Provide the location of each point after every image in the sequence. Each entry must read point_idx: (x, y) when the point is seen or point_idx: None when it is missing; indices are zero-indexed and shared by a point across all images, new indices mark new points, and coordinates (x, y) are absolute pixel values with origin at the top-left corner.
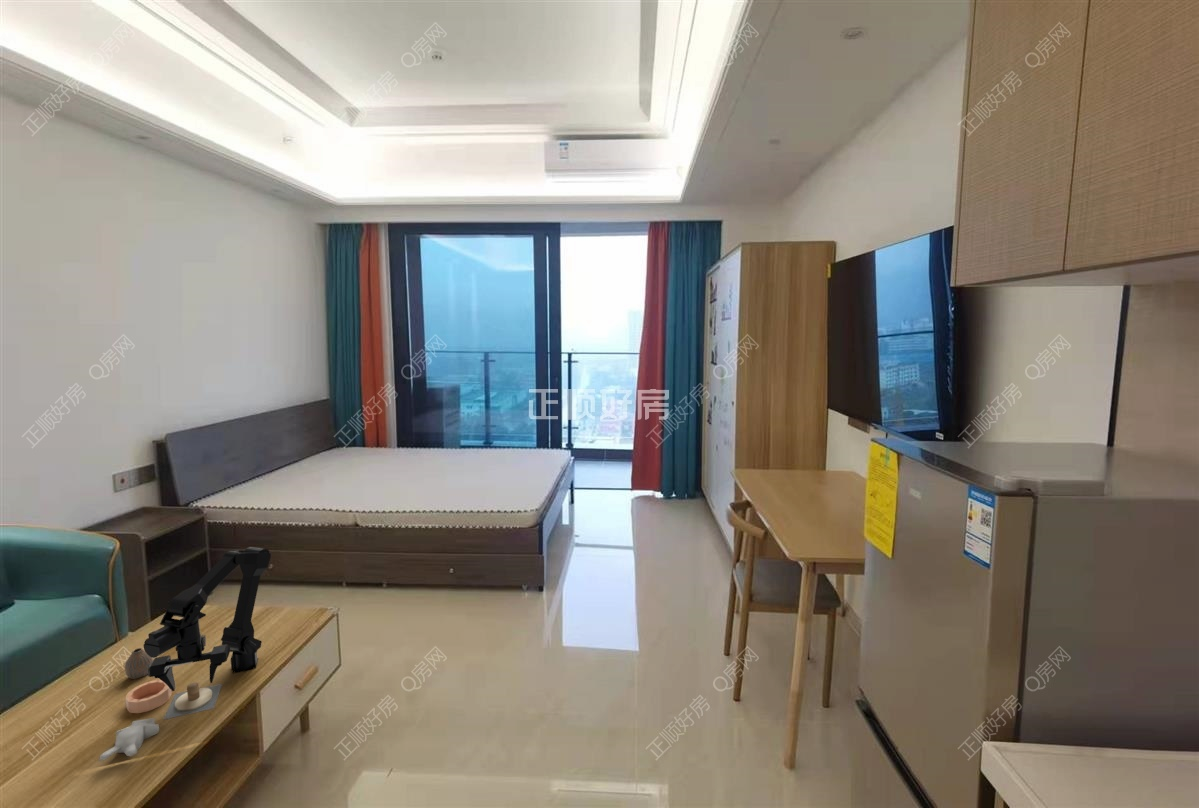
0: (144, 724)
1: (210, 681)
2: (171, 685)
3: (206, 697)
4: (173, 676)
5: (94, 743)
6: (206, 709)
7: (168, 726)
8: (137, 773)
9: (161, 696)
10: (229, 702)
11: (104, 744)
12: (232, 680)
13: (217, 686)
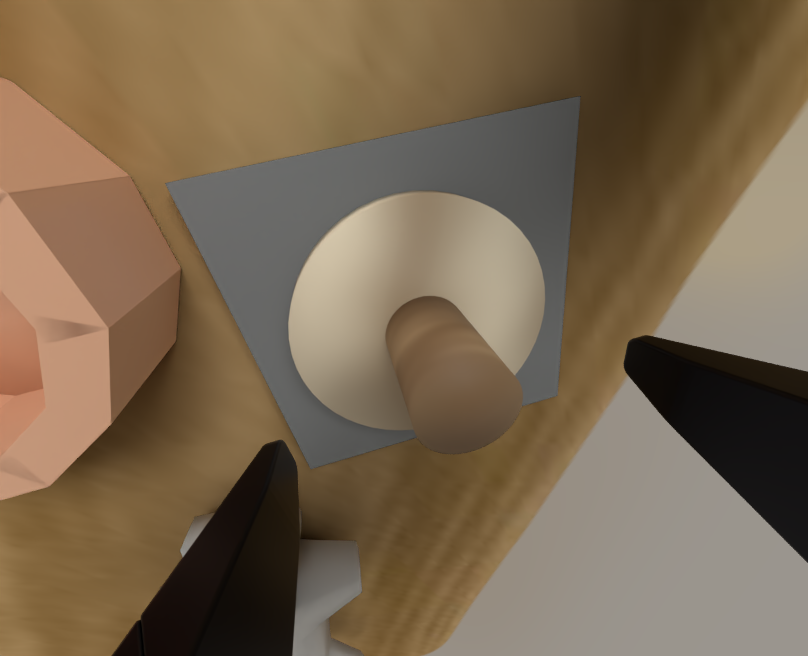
0: (295, 628)
1: (650, 397)
2: (289, 603)
3: (515, 337)
4: (204, 638)
5: (31, 584)
6: (523, 404)
7: (365, 482)
8: (389, 624)
9: (129, 386)
10: (619, 333)
11: (108, 581)
12: (643, 11)
13: (545, 140)
